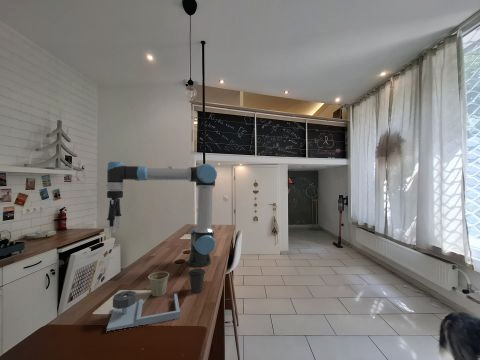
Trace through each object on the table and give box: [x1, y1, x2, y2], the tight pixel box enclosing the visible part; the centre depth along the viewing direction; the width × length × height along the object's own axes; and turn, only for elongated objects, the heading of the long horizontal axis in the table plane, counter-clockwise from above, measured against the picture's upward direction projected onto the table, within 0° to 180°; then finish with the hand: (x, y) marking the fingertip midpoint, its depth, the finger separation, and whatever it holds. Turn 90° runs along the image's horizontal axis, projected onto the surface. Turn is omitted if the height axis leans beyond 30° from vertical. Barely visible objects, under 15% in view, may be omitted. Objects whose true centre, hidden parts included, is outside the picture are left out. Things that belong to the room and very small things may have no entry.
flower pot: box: [147, 271, 170, 298], centre depth 106 cm, size 9×9×9 cm
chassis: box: [106, 293, 181, 332], centre depth 89 cm, size 25×16×8 cm, turn 110°
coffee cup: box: [188, 268, 206, 294], centre depth 109 cm, size 8×8×10 cm
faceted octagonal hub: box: [112, 290, 137, 309], centre depth 87 cm, size 8×8×3 cm
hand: (114, 230), depth 119 cm, fingers open, 13 cm apart
